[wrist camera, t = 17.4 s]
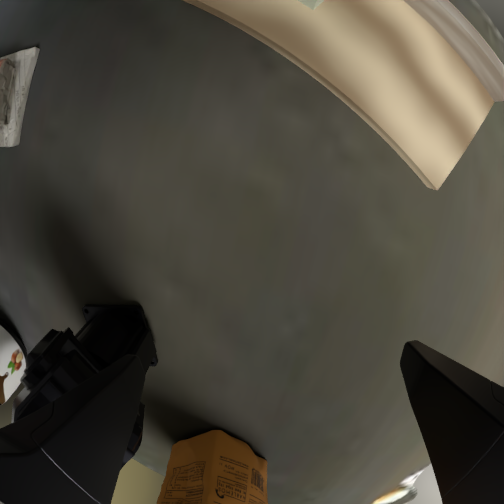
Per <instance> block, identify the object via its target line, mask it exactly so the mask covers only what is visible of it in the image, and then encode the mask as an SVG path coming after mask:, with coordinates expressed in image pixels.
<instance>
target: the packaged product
mask: <svg viewBox="0 0 504 504" xmlns="http://www.w3.org/2000/svg"><path fill="white" fill-rule="evenodd" d="M39 50H40V49H38V48H37V47H33V48H30V49H27V50H22V51H19V52H16V53H14V54H10V55H7V56H4V57H1V58H0V147H13V146H16V145H19V142H20V135H21V129H22V122H23V117H24V111H25V106H26V101H27V97H28V93H29V88H30V84H31V80H32V76H33V72H34V68H35V66H36V62H37V58H38V54H39Z"/></svg>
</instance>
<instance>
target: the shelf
mask: <svg viewBox="0 0 504 504" xmlns="http://www.w3.org/2000/svg"><path fill="white" fill-rule="evenodd" d="M183 1H185V2H187V3H189V4H192V5H194V6H196V7H198V8H200V9H202V10H205V11H207V12H209V13H211V14H213V15H215V16H217V17H219V18H221V19H222V20H224V21H226V22H228V23H230V24H232V25H234V26H235V27H237V28H239V29H241V30H243V31H244V32H246V33H248V34H249V35H251V36H253V37H254V38H256V39H258V40H259V41H261V42H263V43H264V44H266V45H267V46H269V47H270V48H272V49H274V50H275V51H277V52H278V53H280V54H281V55H283V56H284V57H286V58H287V59H288V60H290V61H291V62H293V63H294V64H296V65H297V66H298V67H300V68H301V69H302V70H304V71H305V72H307V73H308V74H309V75H311V76H312V77H313V78H315V79H316V80H317V81H318V82H320V83H321V84H322V85H323V86H325V87H326V88H327V89H328V90H330V91H331V92H332V93H333V94H335V95H336V96H337V97H338V98H339V99H341V100H342V101H343V102H344V103H345V104H346V105H348V106H349V107H350V108H351V109H352V110H353V111H354V112H355V113H357V114H358V115H359V116H360V117H361V118H362V119H363V120H364V121H365V122H366V123H367V124H368V125H370V126H371V127H372V128H373V129H374V130H375V131H376V132H377V133H378V134H379V135H380V136H381V137H382V138H383V139H384V140H385V141H386V142H387V143H388V144H389V145H390V146H391V147H392V148H393V149H394V150H395V151H396V153H397V154H398V155H399V156H400V157H401V158H402V159H403V160H404V161H405V162H406V163H407V164H408V166H409V167H410V168H411V169H412V170H413V171H414V172H415V173H416V175H417V176H418V177H419V178H420V179H421V180H422V182H423V183H424V184H425V185H426V186H427V188H431V189H434V190H438V189H439V187H440V186H441V185H442V183H443V182H444V180H445V179H446V178H447V176H448V175H449V173H450V172H451V171H452V169H453V168H454V166H455V165H456V163H457V162H458V160H459V159H460V157H461V156H462V154H463V153H464V151H465V150H466V148H467V147H468V145H469V144H470V142H471V140H472V139H473V137H474V136H475V134H476V132H477V131H478V129H479V127H480V126H481V124H482V122H483V121H484V119H485V117H486V116H487V114H488V112H489V110H490V109H491V107H492V105H493V103H494V102H498V101H504V65H503V64H502V62H501V61H500V59H499V58H498V57H497V55H496V54H495V53H494V51H493V50H492V49H491V47H490V46H489V45H488V44H487V42H486V41H485V40H484V39H483V37H482V36H481V35H480V34H479V33H478V31H477V30H476V29H475V28H474V27H473V26H472V25H471V23H470V22H469V21H468V20H467V19H466V18H465V17H464V16H463V15H462V14H461V13H460V12H459V10H458V9H457V8H456V7H455V6H454V5H453V4H452V3H451V2H450V1H449V0H324V1H323V2H322V3H321V4H320V5H319V6H318V7H316V8H315V9H314V10H312V9H310V8H309V7H307V6H306V5H304V4H302V3H301V2H299V1H298V0H183Z"/></svg>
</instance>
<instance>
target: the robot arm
mask: <svg viewBox="0 0 504 504" xmlns="http://www.w3.org/2000/svg"><path fill="white" fill-rule="evenodd" d="M87 310H88V311H87ZM135 310H137V311H138V312H139V313H137V312H136V311H135ZM82 311H83V314H84V317H85V320H86V322H87V323H86V324H85V325H84V326H83V327H82V328H81V330H80V331H79V332H78V333H77V334H76V335H75V336H74V335H73V332H72V331H71V329H70V328H69V327H68V328H67V329H66V330H65V331H63V332H62V331H56V330H54V329H52V330H50V331H49V332H48V333H47V334H46V335H45V336H44V337H43V339H42V340H41V341H40V342H39V343H38V344H37V345H36V346H35V347H34V348H33V349H32V351H31V352H30V353H29V354H28V355H27V357H26V368H25V370H24V374H23V376H22V377H21V379H20V381H21V382H22V384H23V385H24V386H25V388H24V389H23V390H22V391H21V392H20V394H19V395H18V396H17V397H16V398H15V400H14V402H13V410H12V423H11V424H9V425H7V426H5V427H3V428H1V429H0V504H111V500H112V497H113V493H114V489H115V486H116V482H117V479H118V475H119V472H120V470H121V469H122V467H123V466H124V465H125V464H126V463H127V462H128V461H129V460H130V459H131V458H132V457H133V456H134V455H135V453H136V452H137V450H138V448H139V446H140V444H141V441H142V432H143V419H144V408H145V405H144V404H143V403H142V402H141V401H140V400H141V395H142V391H143V386H144V382H145V374H146V372H147V370H148V368H149V366H156V365H157V363H158V359H157V356H156V348H155V345H154V342H153V339H152V335H151V332H150V330H149V328H148V327H147V323H146V319H145V316H144V312H143V309H142V308H141V307H140V306H137V305H91V304H86V305H85V306H84V307H83V308H82ZM152 361H154V362H152ZM400 367H401V371H402V374H403V378H404V381H405V385H406V389H407V393H408V397H409V400H410V403H411V406H412V409H413V412H414V414H415V417H416V420H417V422H418V425H419V428H420V431H421V433H422V436H423V439H424V442H425V445H426V448H427V451H428V454H429V457H430V460H431V464H432V467H433V470H434V473H435V476H436V480H437V484H438V487H439V491H440V495H441V498H442V503H443V504H504V387H502V386H500V385H498V384H496V383H494V382H493V381H491V382H490V380H489V379H487V378H485V377H483V376H482V375H480V374H478V373H476V372H474V371H472V370H471V369H469V368H467V367H465V366H463V365H461V364H459V363H458V362H456V361H454V360H452V359H450V358H448V357H447V356H445V355H443V354H441V353H439V352H437V351H436V350H434V349H432V348H430V347H428V346H426V345H425V344H423V343H421V342H419V341H417V340H414V341H409V342H406V343H405V345H404V349H403V352H402V356H401V360H400Z"/></svg>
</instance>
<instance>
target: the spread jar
mask: <svg viewBox="0 0 504 504" xmlns="http://www.w3.org/2000/svg"><path fill="white" fill-rule="evenodd" d="M26 357H27V352H26V349H25V347H24V345H23V343H22V341H21V340H20V338H19V337H18V335H17V334H16V333H15V331H14V330H13V329H12V328H11V327H10V326H8V325H7V324H6V323H4V322H2V321H0V405H2V404H3V403H4V402H6V401H7V399H8V398H9V397H10V396H11V394H12V393H13V392H14V391H15V390H16V388H17V387H18V386H19V384H20V383H21V381H20V379H21V377H22V376H23V374H24V370H25V368H26Z"/></svg>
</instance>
